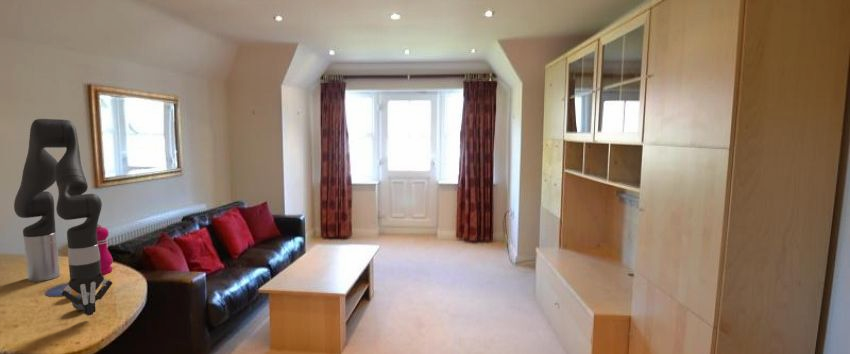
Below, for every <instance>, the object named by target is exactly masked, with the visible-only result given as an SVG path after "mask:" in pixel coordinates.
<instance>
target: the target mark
mask: <svg viewBox="0 0 850 354" xmlns="http://www.w3.org/2000/svg"><path fill="white" fill-rule="evenodd" d="M68 283H69V282H67V283H63V284H59V285H55V286H54V287H50V288H49V289H47V290H46V291H45V296H47V297H51V296H54V297H55V296H61V297H64V296H63V295H62V294H61V292H60V291H61V290H62V289H65V288H66V286H67V285H68ZM54 297H53V298H54ZM55 298H56V297H55Z"/></svg>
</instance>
